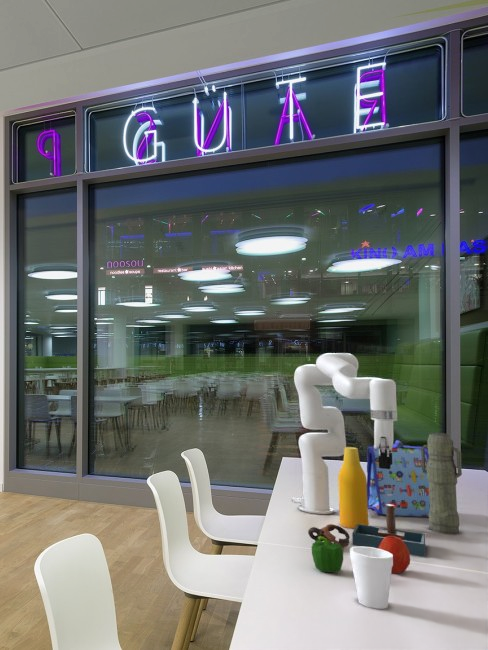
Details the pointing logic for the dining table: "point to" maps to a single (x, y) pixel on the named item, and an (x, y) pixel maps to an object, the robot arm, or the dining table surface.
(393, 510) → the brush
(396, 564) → the apple
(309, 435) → the robot arm
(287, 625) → the dining table surface
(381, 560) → the foam cup
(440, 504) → the thermos
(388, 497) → the lunch bag
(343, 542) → the brown twisted loop
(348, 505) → the beer bottle
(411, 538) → the tray
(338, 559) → the bell pepper
